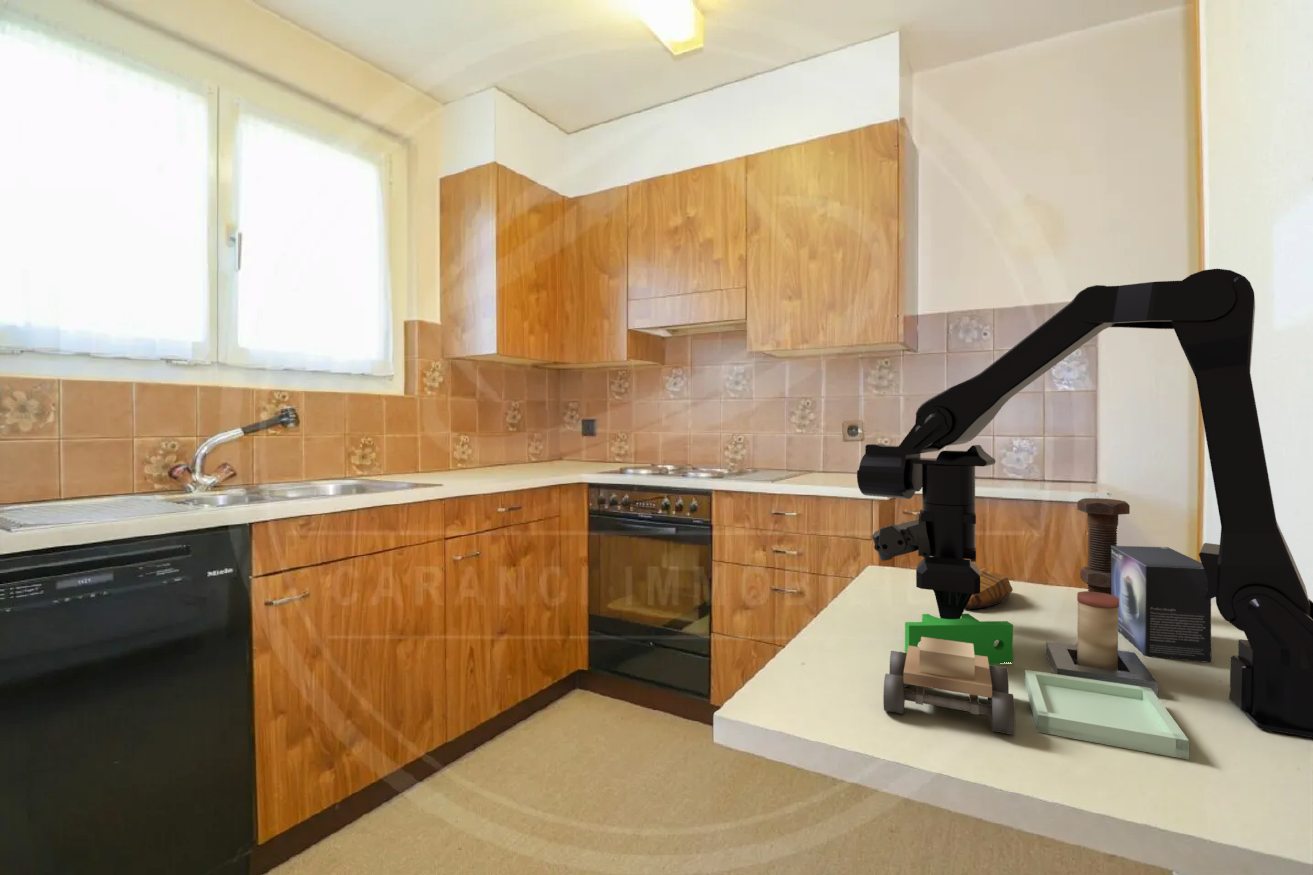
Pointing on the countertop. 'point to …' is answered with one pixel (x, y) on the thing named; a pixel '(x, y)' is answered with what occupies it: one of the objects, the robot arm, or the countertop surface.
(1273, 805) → the countertop surface
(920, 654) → the toy car
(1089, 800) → the countertop surface
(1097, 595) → the pin
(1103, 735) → the tray
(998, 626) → the pipe clamp
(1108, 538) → the bolt
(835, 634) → the countertop surface
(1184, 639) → the small box
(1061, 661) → the socket
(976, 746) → the countertop surface
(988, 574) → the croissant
